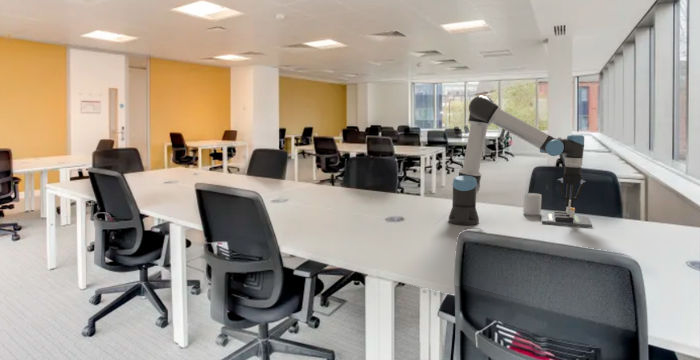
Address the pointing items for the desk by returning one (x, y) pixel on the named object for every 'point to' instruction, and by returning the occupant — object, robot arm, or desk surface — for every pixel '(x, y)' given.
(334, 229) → the desk surface
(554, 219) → the panel
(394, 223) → the desk surface
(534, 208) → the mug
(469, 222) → the robot arm
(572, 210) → the block
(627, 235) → the desk surface
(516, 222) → the desk surface
